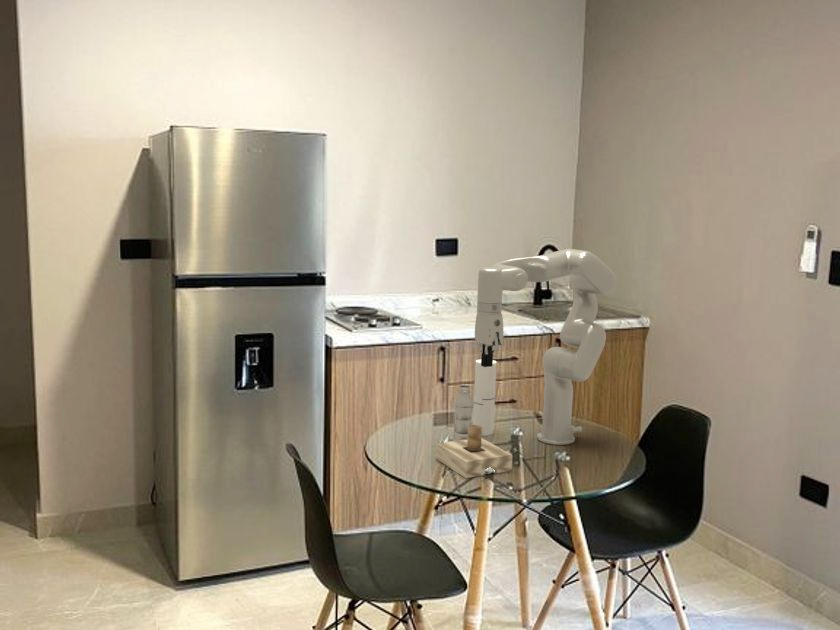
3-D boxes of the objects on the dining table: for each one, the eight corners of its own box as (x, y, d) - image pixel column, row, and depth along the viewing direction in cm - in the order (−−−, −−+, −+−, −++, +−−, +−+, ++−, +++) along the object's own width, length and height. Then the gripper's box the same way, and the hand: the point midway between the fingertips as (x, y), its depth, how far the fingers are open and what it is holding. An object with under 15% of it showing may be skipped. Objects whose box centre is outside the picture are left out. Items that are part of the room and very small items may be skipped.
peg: (475, 461, 264) (477, 424, 262) (483, 466, 260) (484, 428, 258) (463, 463, 262) (465, 425, 260) (470, 468, 258) (472, 429, 256)
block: (480, 452, 273) (481, 437, 272) (511, 470, 257) (512, 454, 256) (436, 459, 265) (436, 443, 265) (465, 478, 250) (466, 461, 249)
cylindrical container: (493, 436, 290) (497, 364, 286) (472, 435, 291) (476, 363, 286) (492, 429, 297) (496, 359, 293) (472, 428, 298) (475, 358, 293)
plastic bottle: (456, 449, 275) (458, 389, 271) (449, 443, 281) (452, 384, 278) (475, 448, 277) (477, 388, 273) (468, 442, 283) (470, 383, 280)
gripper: (513, 311, 257) (510, 370, 260) (486, 303, 270) (484, 360, 273) (491, 312, 253) (489, 372, 257) (466, 304, 267) (464, 362, 270)
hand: (486, 366), depth 265 cm, fingers closed
